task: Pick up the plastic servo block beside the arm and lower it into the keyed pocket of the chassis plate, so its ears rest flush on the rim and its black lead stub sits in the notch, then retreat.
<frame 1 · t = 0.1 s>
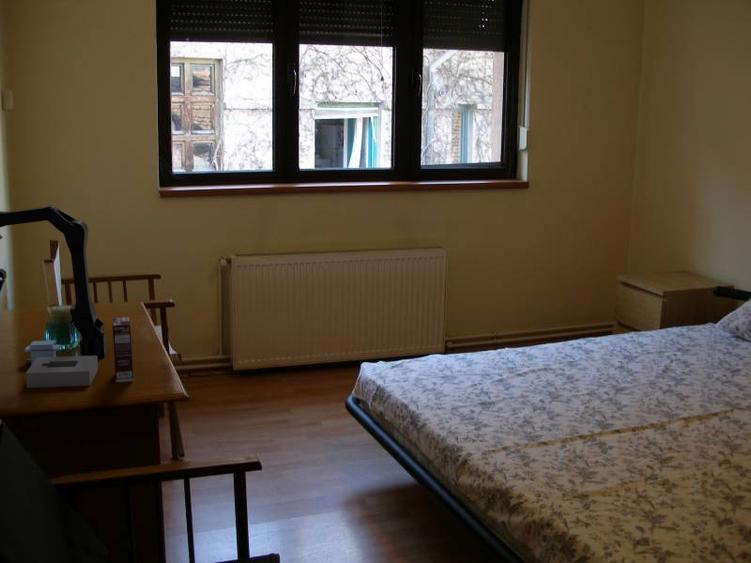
supplement box: (124, 378, 244), on the table
chassis: (63, 378, 242), on the table
servo: (43, 363, 255), on the table
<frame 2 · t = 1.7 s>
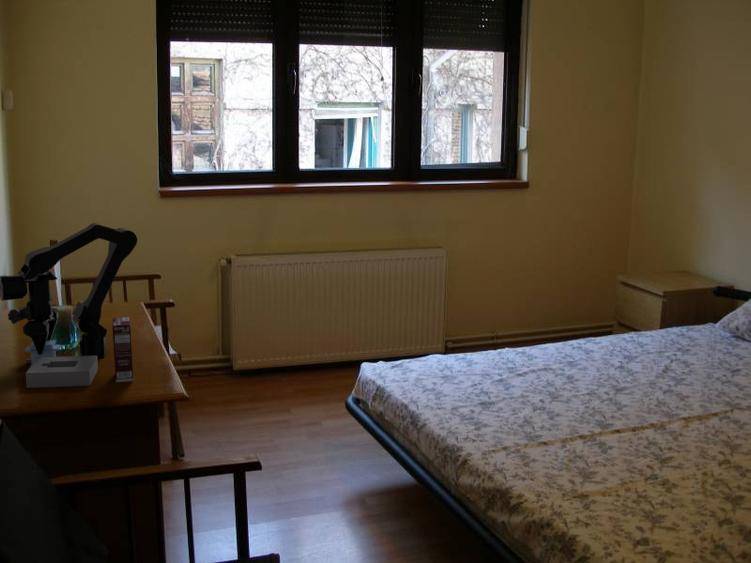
hand: (43, 349, 255), 4 cm above the table, fingers open, 9 cm apart
nothing on the table moved.
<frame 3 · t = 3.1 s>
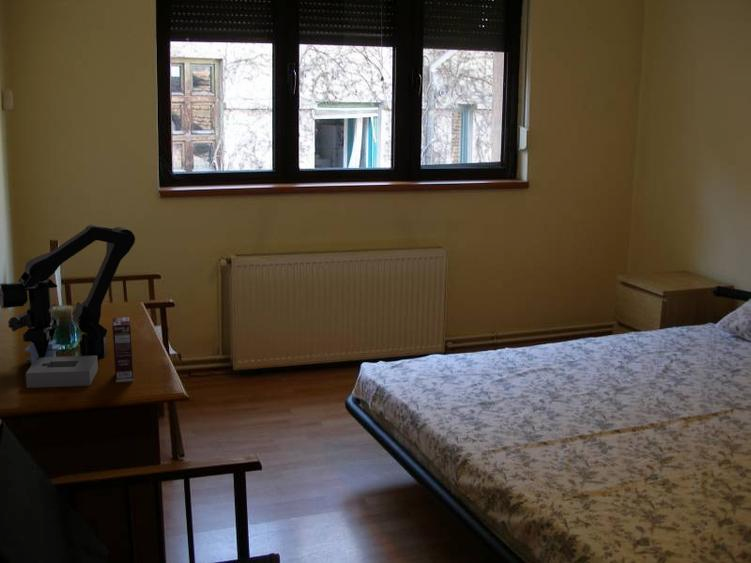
hand: (43, 357, 255), 2 cm above the table, fingers closed on servo, 4 cm apart
servo: (43, 362, 255), on the table, touching gripper
everything else where it was.
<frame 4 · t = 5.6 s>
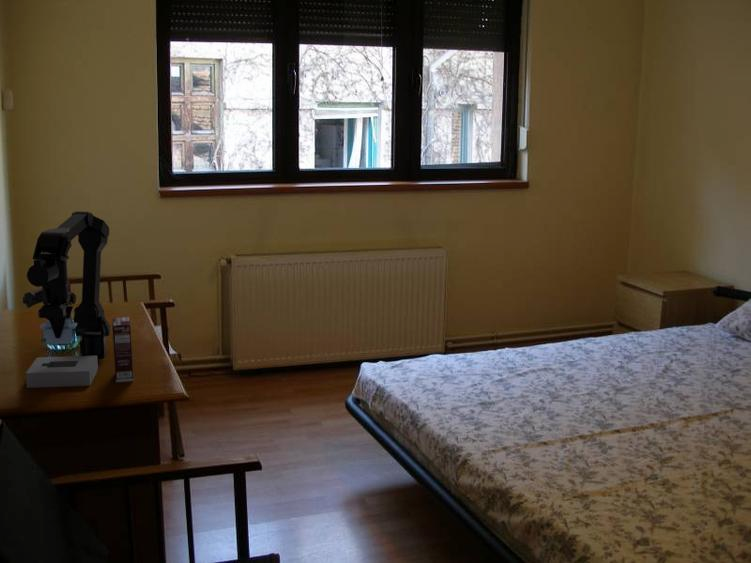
hand: (59, 336, 240), 12 cm above the table, fingers closed on servo, 4 cm apart
servo: (59, 342, 240), point 10 cm above the table, touching gripper
everything else where it was.
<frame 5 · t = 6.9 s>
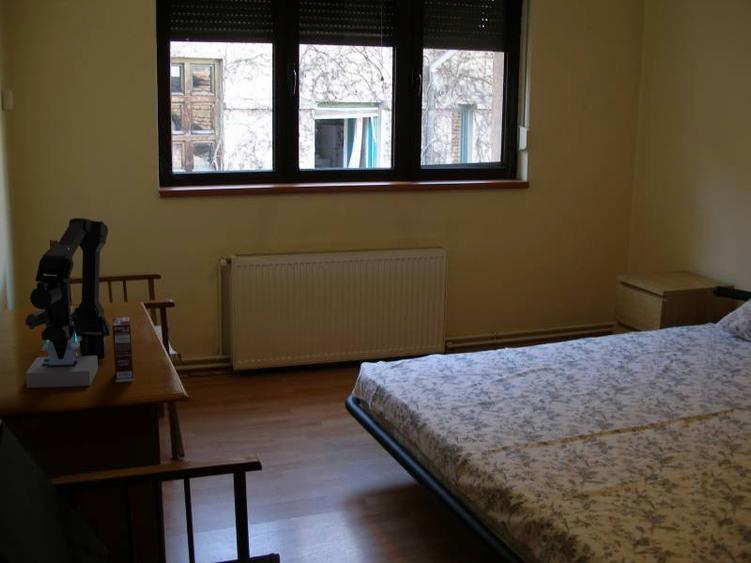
hand: (62, 356, 241), 6 cm above the table, fingers closed on servo, 4 cm apart
servo: (62, 362, 241), point 4 cm above the table, touching gripper
everything else where it was.
when the fingers open (4 cm above the table, at t = 8.1 s): servo drops 3 cm, resting in chassis.
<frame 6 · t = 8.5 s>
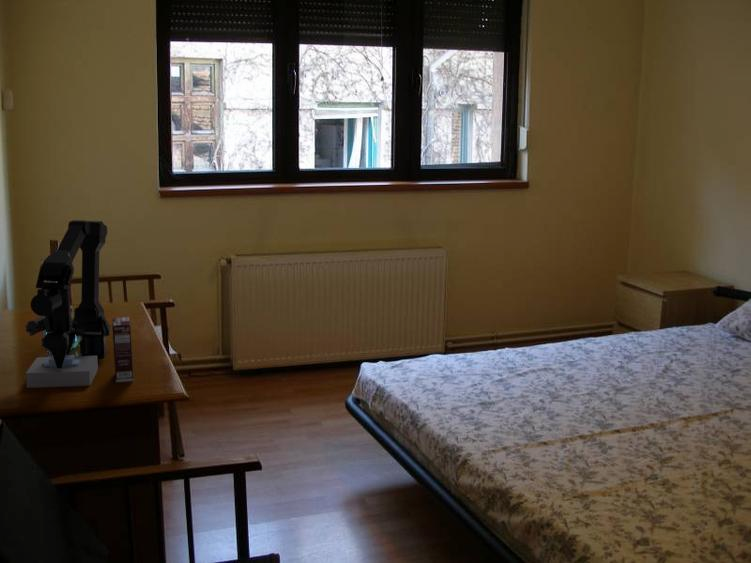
hand: (62, 363, 241), 4 cm above the table, fingers open, 9 cm apart
servo: (63, 378, 242), resting in chassis
everything else where it was.
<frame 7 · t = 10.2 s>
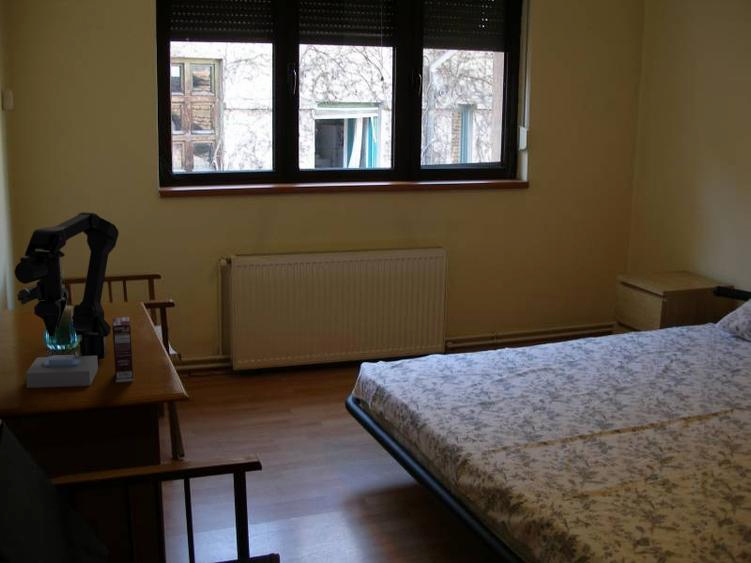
hand: (54, 331, 244), 12 cm above the table, fingers open, 9 cm apart
nothing on the table moved.
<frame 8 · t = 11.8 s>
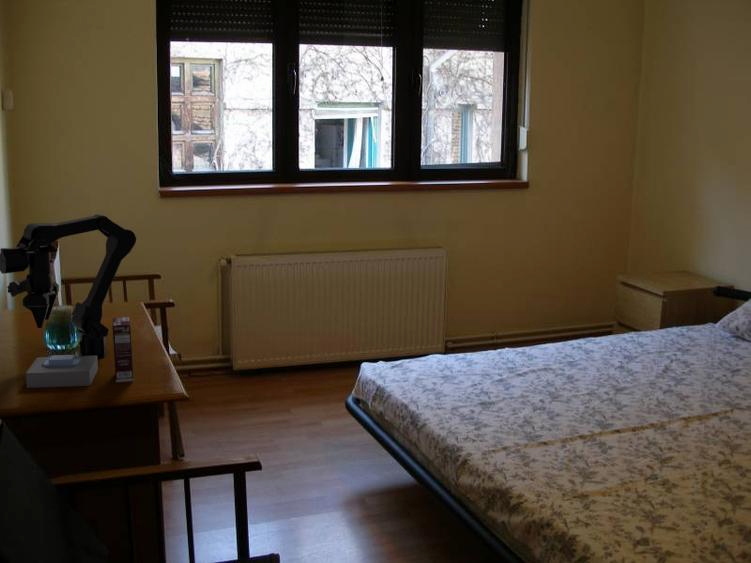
hand: (43, 323, 251), 12 cm above the table, fingers open, 9 cm apart
nothing on the table moved.
at the end: servo 0.1 cm off-centre on the chassis, point 0.0 cm above the chassis's base; servo tilted 0°; the gripper is holding nothing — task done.
